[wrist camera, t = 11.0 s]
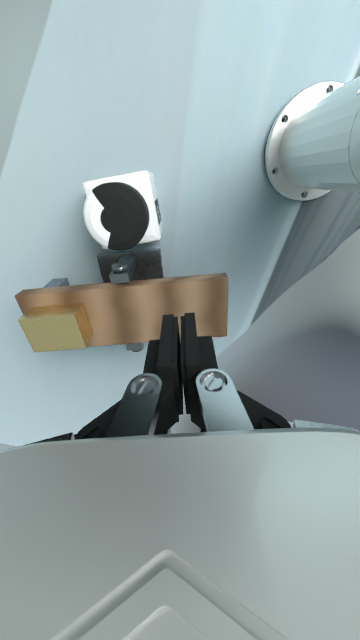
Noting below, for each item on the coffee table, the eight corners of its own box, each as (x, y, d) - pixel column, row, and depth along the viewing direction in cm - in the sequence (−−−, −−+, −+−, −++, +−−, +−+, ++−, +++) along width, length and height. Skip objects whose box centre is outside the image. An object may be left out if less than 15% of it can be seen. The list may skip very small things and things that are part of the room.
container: (152, 171, 33) (142, 167, 22) (163, 229, 37) (159, 251, 26) (98, 181, 33) (61, 183, 22) (114, 237, 37) (90, 263, 26)
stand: (159, 246, 38) (156, 264, 30) (168, 319, 45) (167, 351, 37) (44, 256, 38) (10, 277, 30) (71, 328, 46) (49, 360, 37)
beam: (225, 273, 32) (228, 278, 31) (224, 328, 37) (226, 336, 35) (22, 289, 33) (14, 296, 31) (46, 342, 38) (40, 350, 36)
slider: (83, 302, 32) (74, 315, 29) (93, 333, 34) (86, 348, 31) (32, 306, 32) (17, 320, 29) (46, 337, 35) (34, 352, 32)
